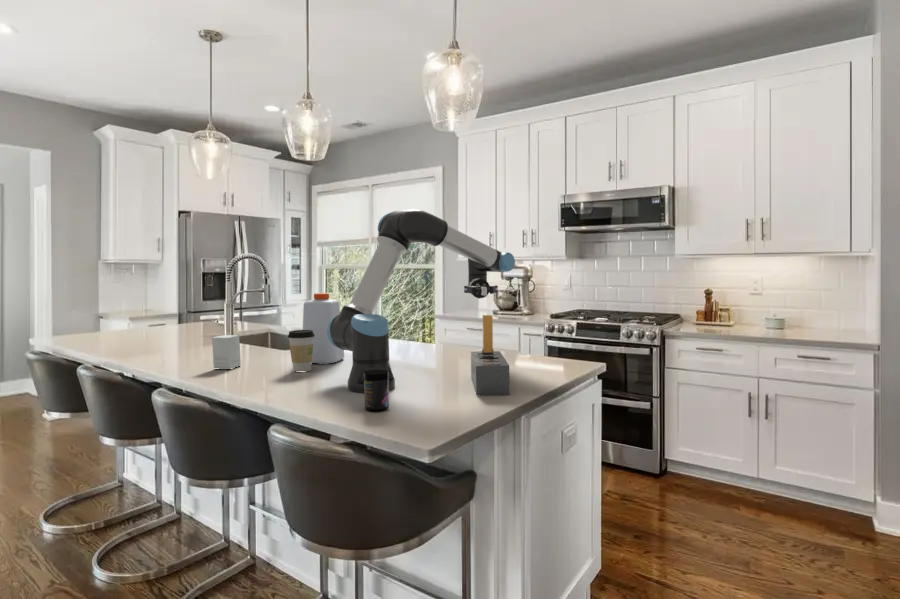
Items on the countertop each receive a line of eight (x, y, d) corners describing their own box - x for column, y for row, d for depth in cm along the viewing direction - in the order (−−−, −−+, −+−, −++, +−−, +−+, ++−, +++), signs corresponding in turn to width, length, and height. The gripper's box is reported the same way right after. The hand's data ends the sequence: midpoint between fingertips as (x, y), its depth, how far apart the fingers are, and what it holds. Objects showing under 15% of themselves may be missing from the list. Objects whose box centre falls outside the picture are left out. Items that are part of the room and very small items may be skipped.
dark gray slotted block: (468, 369, 203) (468, 344, 203) (495, 368, 203) (495, 343, 203) (476, 395, 163) (476, 364, 163) (509, 394, 164) (509, 364, 163)
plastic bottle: (347, 358, 230) (345, 292, 228) (333, 365, 215) (331, 294, 213) (313, 357, 232) (311, 292, 230) (297, 364, 218) (295, 294, 216)
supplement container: (381, 413, 145) (380, 375, 144) (359, 411, 148) (358, 373, 147) (393, 407, 151) (392, 370, 151) (372, 405, 154) (371, 368, 153)
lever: (482, 354, 180) (481, 315, 179) (492, 354, 180) (492, 315, 179) (482, 355, 178) (482, 316, 177) (493, 355, 178) (493, 315, 177)
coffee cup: (321, 369, 206) (320, 330, 205) (301, 374, 197) (300, 333, 196) (303, 367, 211) (301, 329, 210) (283, 371, 203) (281, 332, 202)
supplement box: (241, 366, 214) (240, 335, 213) (229, 370, 207) (228, 337, 206) (225, 366, 215) (223, 334, 215) (212, 369, 208) (211, 337, 207)
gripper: (496, 297, 212) (503, 302, 188) (462, 297, 211) (465, 302, 188) (496, 278, 211) (503, 280, 188) (462, 278, 211) (465, 281, 187)
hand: (484, 291), depth 188 cm, fingers closed
